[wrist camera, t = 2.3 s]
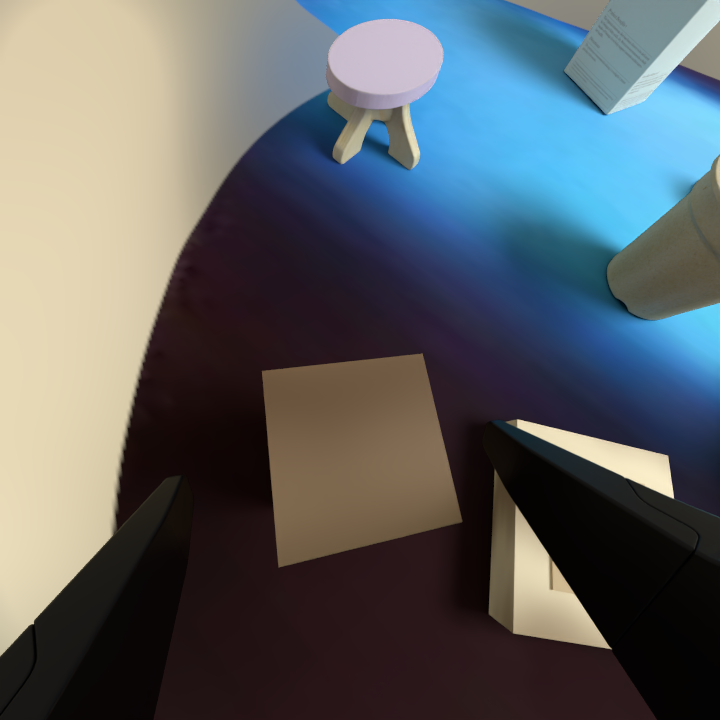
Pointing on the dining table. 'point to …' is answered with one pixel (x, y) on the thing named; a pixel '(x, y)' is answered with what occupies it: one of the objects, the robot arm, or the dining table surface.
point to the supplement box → (638, 48)
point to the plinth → (530, 559)
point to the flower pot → (674, 257)
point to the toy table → (381, 83)
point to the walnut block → (354, 456)
